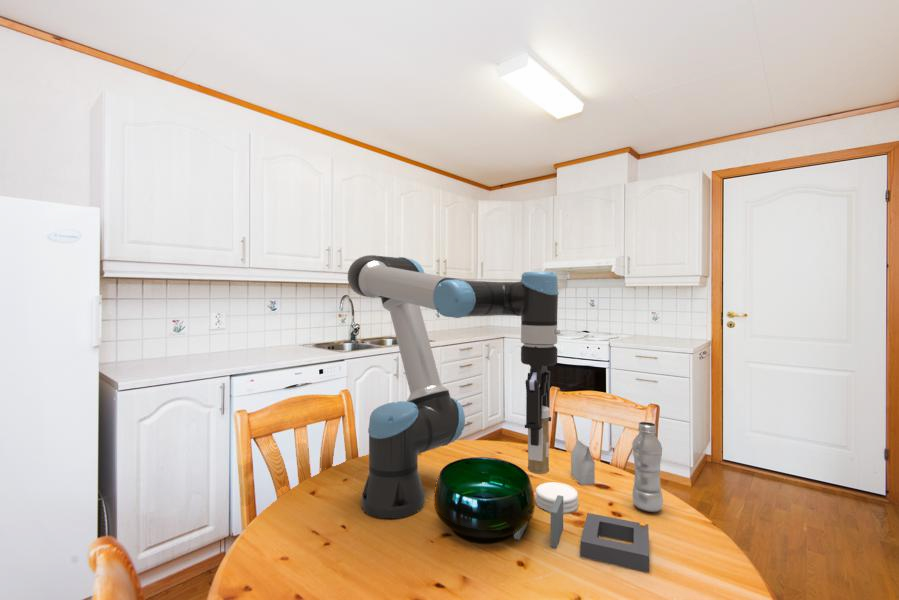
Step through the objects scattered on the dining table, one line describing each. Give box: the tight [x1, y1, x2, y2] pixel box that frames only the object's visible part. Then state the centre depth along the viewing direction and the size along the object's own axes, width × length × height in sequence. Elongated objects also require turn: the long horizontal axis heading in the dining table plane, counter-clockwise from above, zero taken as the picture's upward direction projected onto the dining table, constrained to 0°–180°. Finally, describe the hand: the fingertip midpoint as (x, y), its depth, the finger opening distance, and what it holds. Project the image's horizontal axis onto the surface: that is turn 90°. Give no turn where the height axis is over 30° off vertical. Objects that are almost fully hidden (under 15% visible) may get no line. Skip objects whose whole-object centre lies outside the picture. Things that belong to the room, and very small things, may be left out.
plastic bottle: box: [631, 421, 664, 513], centre depth 101 cm, size 6×7×20 cm
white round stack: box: [535, 481, 579, 515], centre depth 104 cm, size 10×10×4 cm
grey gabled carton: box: [570, 439, 596, 486], centre depth 118 cm, size 4×7×10 cm, turn 7°
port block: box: [579, 512, 650, 574], centre depth 86 cm, size 12×12×3 cm
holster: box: [513, 495, 564, 549], centre depth 91 cm, size 9×8×7 cm
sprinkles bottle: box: [527, 406, 551, 475], centre depth 91 cm, size 5×5×14 cm
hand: (538, 455), depth 91 cm, fingers closed on sprinkles bottle, 4 cm apart
